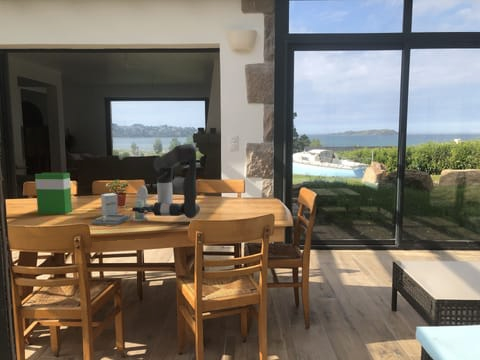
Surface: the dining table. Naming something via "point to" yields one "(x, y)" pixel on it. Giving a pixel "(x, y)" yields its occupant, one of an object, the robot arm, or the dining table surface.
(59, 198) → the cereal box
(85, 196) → the dining table surface
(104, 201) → the supplement box
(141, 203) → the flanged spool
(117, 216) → the locating board
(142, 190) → the chess piece
